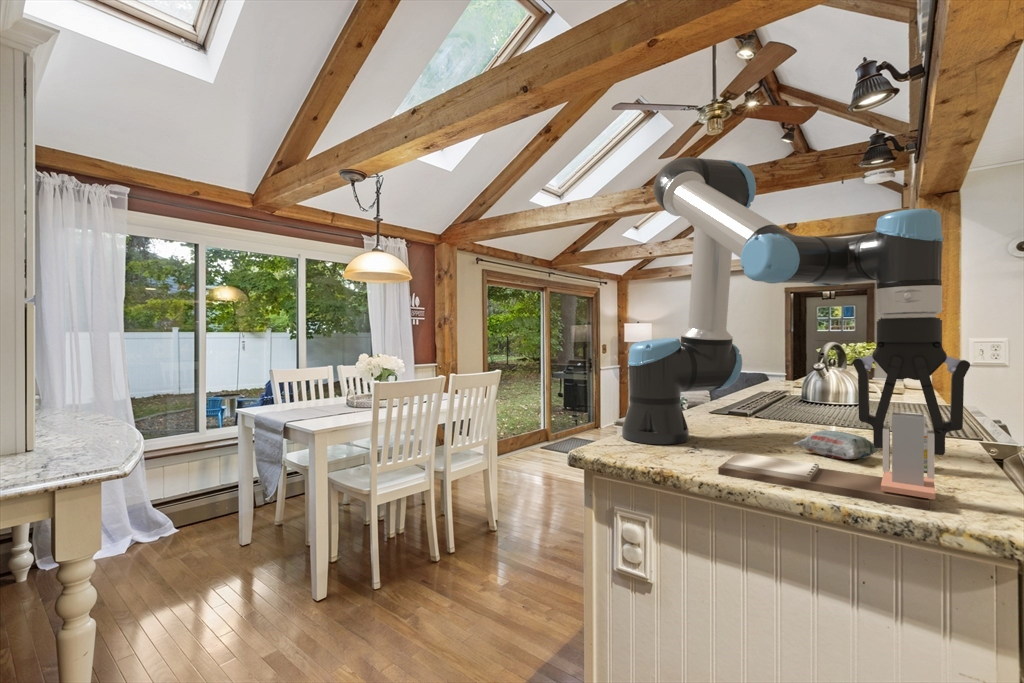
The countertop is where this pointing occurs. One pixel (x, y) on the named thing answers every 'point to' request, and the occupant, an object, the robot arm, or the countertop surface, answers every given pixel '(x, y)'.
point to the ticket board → (815, 479)
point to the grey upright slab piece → (908, 458)
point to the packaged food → (838, 445)
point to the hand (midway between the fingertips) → (907, 472)
